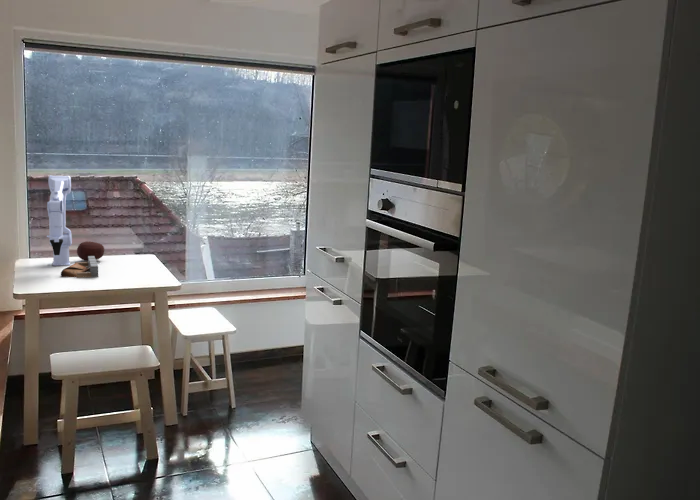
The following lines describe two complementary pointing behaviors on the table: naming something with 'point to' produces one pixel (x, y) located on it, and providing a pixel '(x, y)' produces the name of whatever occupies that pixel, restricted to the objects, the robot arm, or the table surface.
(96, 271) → the dock
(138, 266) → the table surface
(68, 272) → the sunglasses case
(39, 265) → the table surface
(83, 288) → the table surface
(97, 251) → the potato
